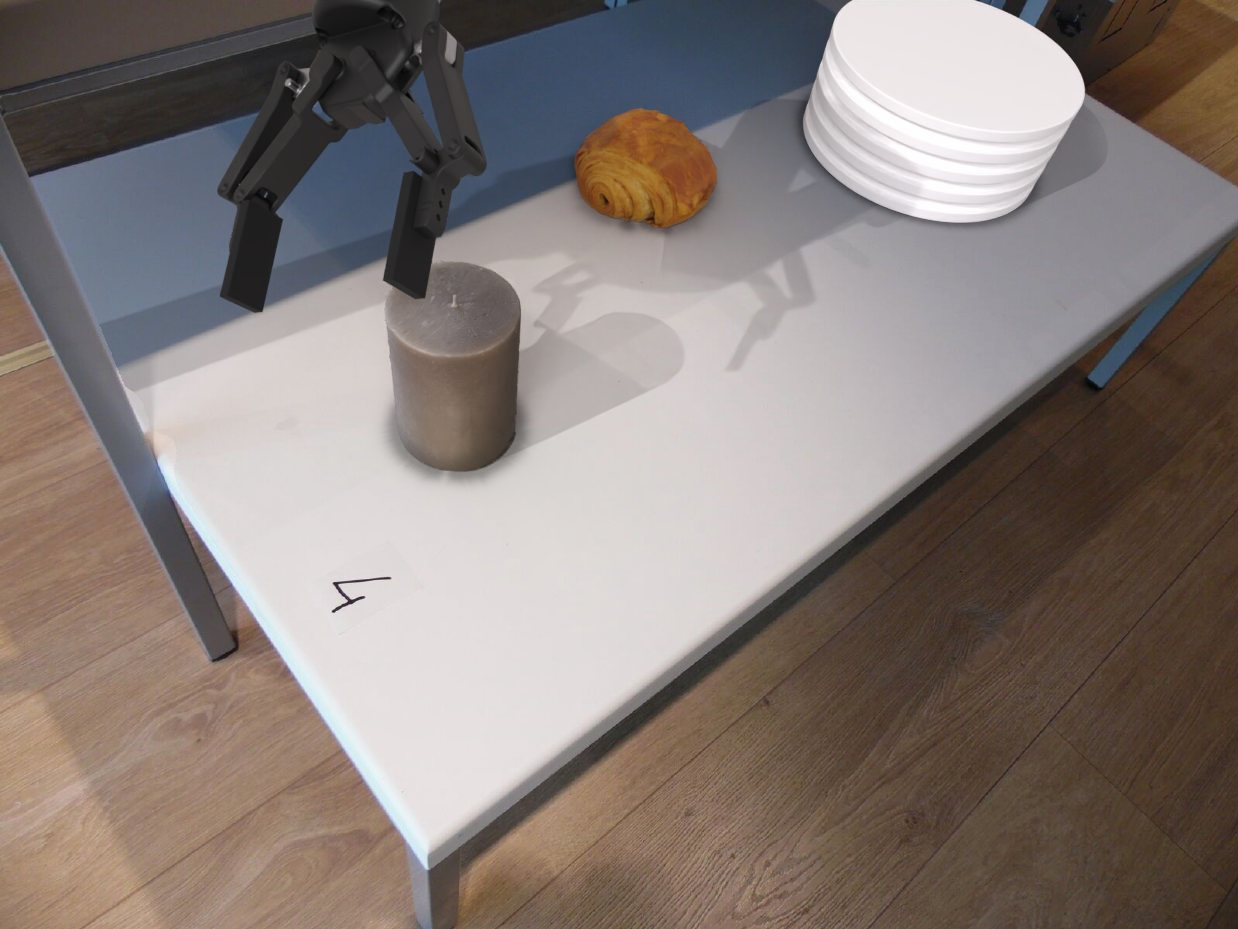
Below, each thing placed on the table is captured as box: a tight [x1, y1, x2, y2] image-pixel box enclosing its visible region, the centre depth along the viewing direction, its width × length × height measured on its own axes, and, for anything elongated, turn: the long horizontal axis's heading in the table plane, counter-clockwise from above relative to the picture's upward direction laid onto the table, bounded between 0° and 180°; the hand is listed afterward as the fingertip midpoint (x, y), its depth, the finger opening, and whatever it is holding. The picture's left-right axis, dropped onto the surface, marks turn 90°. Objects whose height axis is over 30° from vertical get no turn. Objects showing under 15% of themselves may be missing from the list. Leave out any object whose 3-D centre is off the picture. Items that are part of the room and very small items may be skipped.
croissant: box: [573, 107, 718, 229], centre depth 95 cm, size 14×16×8 cm
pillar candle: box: [383, 260, 522, 473], centre depth 70 cm, size 10×10×15 cm
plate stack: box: [802, 0, 1086, 224], centre depth 104 cm, size 28×28×12 cm
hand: (317, 298), depth 55 cm, fingers open, 13 cm apart
